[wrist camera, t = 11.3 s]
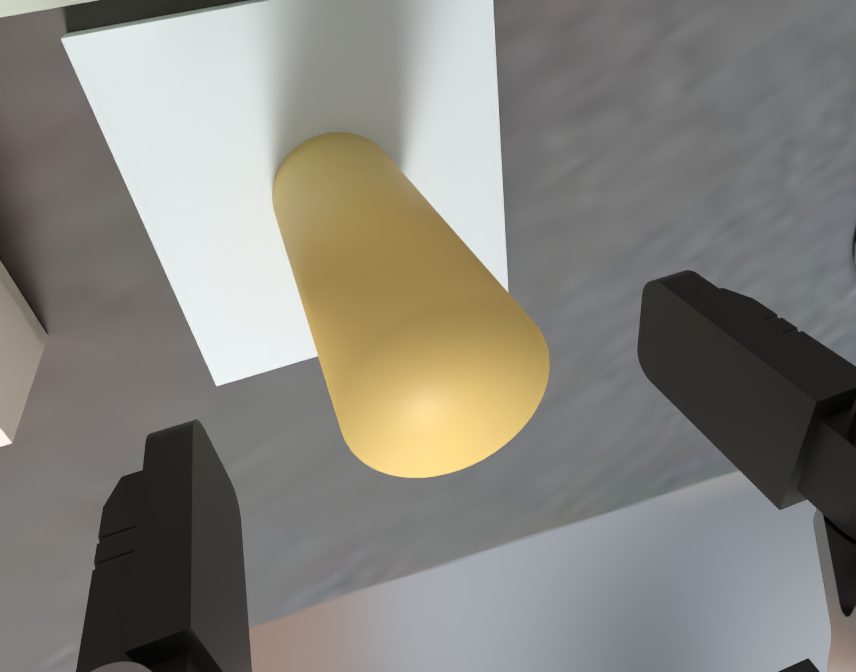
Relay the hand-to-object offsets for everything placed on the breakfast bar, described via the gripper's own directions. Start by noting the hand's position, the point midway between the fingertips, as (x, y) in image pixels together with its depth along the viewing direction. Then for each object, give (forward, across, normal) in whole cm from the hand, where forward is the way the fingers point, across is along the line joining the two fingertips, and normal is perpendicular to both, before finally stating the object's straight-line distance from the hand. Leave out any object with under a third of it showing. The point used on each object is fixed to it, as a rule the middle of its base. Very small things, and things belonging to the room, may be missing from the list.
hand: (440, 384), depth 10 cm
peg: (+8, 0, 0) cm, 8 cm away
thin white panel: (+9, 0, 0) cm, 9 cm away
